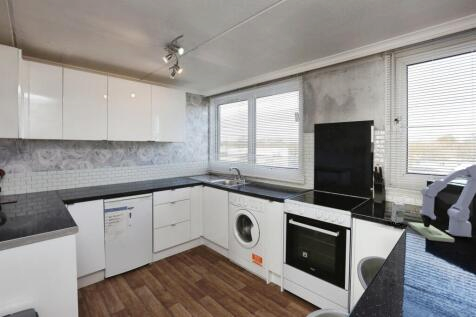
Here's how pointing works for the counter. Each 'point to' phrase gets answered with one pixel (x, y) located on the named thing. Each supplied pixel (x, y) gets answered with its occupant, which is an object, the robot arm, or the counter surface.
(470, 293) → the counter surface
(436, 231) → the golf ball
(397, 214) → the syrup box
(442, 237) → the mat
